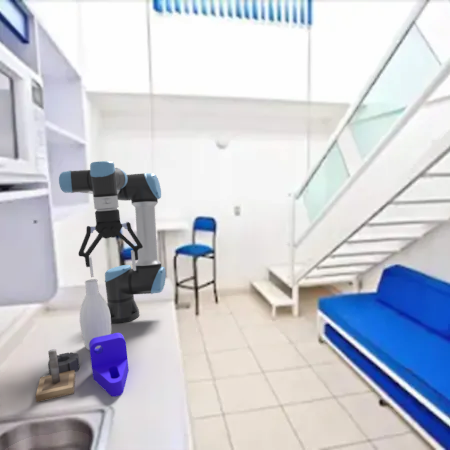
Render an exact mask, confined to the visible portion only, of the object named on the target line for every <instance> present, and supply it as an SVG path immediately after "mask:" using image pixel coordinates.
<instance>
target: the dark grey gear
mask: <svg viewBox="0 0 450 450" xmlns="http://www.w3.org/2000/svg"><path fill="white" fill-rule="evenodd" d="M79 359H80V358H79V354H78V353H76V352H65V353H59V355H58V354H57V360H58V367H59V373H62V372H67V371H72V370H75V373H76V372H79V370H80V360H79ZM47 366H48V375H51V369H50V361H49V360H48V362H47Z"/></svg>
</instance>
